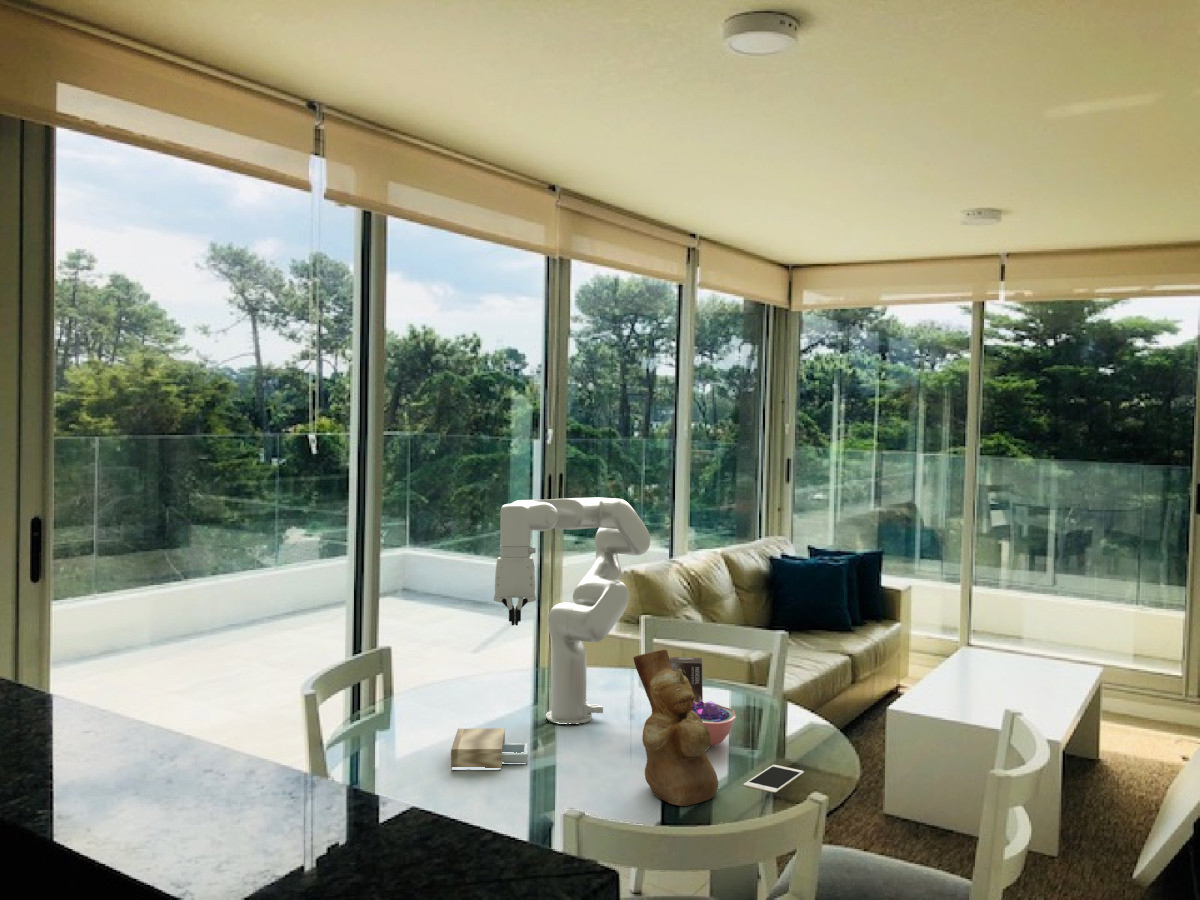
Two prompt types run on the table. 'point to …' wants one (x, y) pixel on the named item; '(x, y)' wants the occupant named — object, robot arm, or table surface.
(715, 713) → the cell model
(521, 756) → the grey shallow tray
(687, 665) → the coffee box
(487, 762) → the wooden block
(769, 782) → the cell phone
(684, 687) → the ceramic vessel
